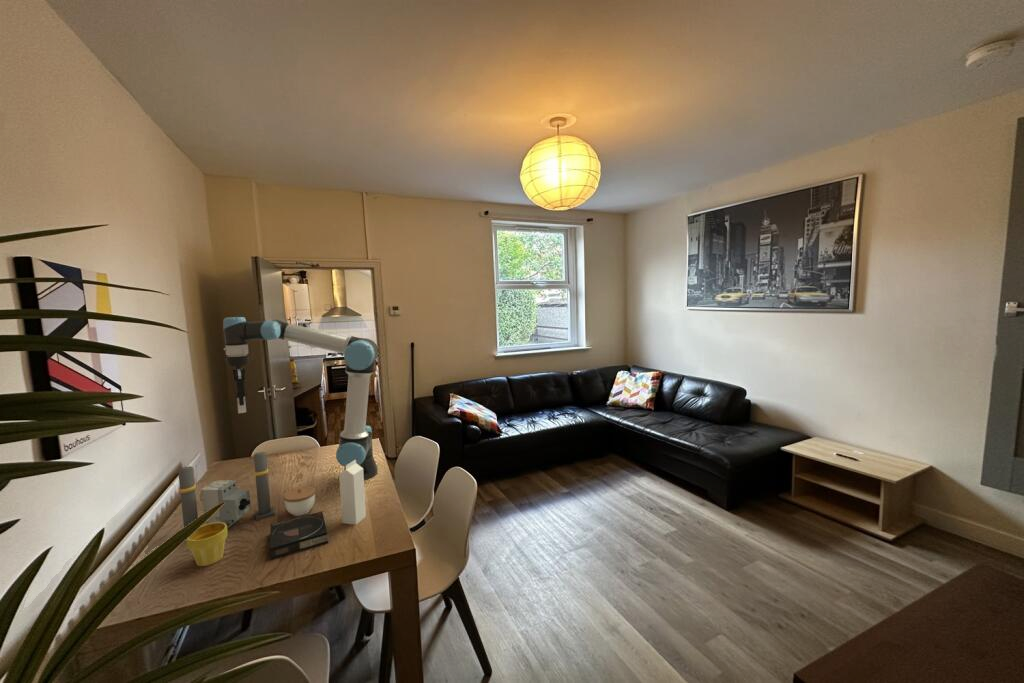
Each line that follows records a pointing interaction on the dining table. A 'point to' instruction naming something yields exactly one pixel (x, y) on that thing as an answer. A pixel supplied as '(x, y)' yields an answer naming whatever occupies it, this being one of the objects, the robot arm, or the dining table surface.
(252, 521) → the dining table surface
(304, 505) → the lidded jar
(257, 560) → the dining table surface
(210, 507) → the circuit breaker
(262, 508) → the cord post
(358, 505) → the milk
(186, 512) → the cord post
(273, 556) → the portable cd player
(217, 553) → the plant pot
